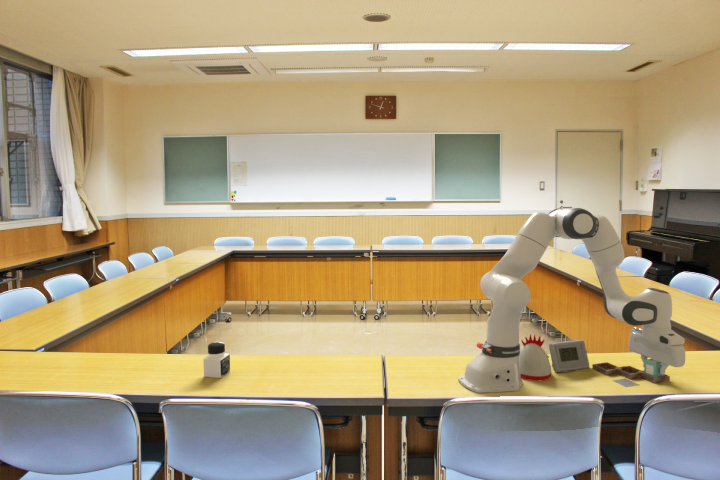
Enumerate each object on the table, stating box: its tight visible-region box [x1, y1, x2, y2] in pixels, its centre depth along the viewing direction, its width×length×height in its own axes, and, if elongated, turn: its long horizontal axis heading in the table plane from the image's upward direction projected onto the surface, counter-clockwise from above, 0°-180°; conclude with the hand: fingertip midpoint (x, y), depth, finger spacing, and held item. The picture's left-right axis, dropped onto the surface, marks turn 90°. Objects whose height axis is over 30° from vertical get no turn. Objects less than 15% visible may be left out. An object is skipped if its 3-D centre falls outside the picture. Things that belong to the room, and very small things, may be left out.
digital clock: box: [548, 339, 590, 373], centre depth 180 cm, size 16×9×11 cm, turn 96°
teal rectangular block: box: [643, 358, 664, 378], centre depth 168 cm, size 4×4×7 cm
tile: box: [612, 378, 640, 388], centre depth 165 cm, size 6×6×1 cm
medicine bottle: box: [202, 341, 231, 379], centre depth 175 cm, size 7×7×12 cm
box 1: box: [591, 361, 622, 376], centre depth 176 cm, size 7×7×2 cm
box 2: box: [615, 365, 644, 380], centre depth 173 cm, size 7×7×2 cm
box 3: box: [638, 370, 671, 384], centre depth 169 cm, size 7×7×2 cm
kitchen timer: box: [519, 333, 552, 382], centre depth 175 cm, size 14×14×15 cm
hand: (654, 370), depth 169 cm, fingers closed on teal rectangular block, 4 cm apart
